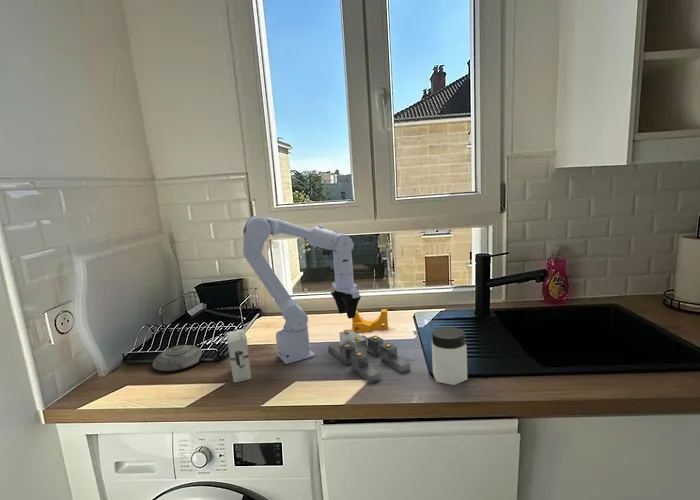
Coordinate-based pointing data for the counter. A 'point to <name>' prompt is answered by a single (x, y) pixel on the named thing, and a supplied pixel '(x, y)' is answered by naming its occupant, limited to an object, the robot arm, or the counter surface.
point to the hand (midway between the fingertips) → (347, 315)
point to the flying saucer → (177, 358)
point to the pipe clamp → (370, 323)
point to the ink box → (238, 355)
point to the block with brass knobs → (353, 340)
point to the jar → (449, 355)
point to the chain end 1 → (346, 350)
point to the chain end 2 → (387, 356)
